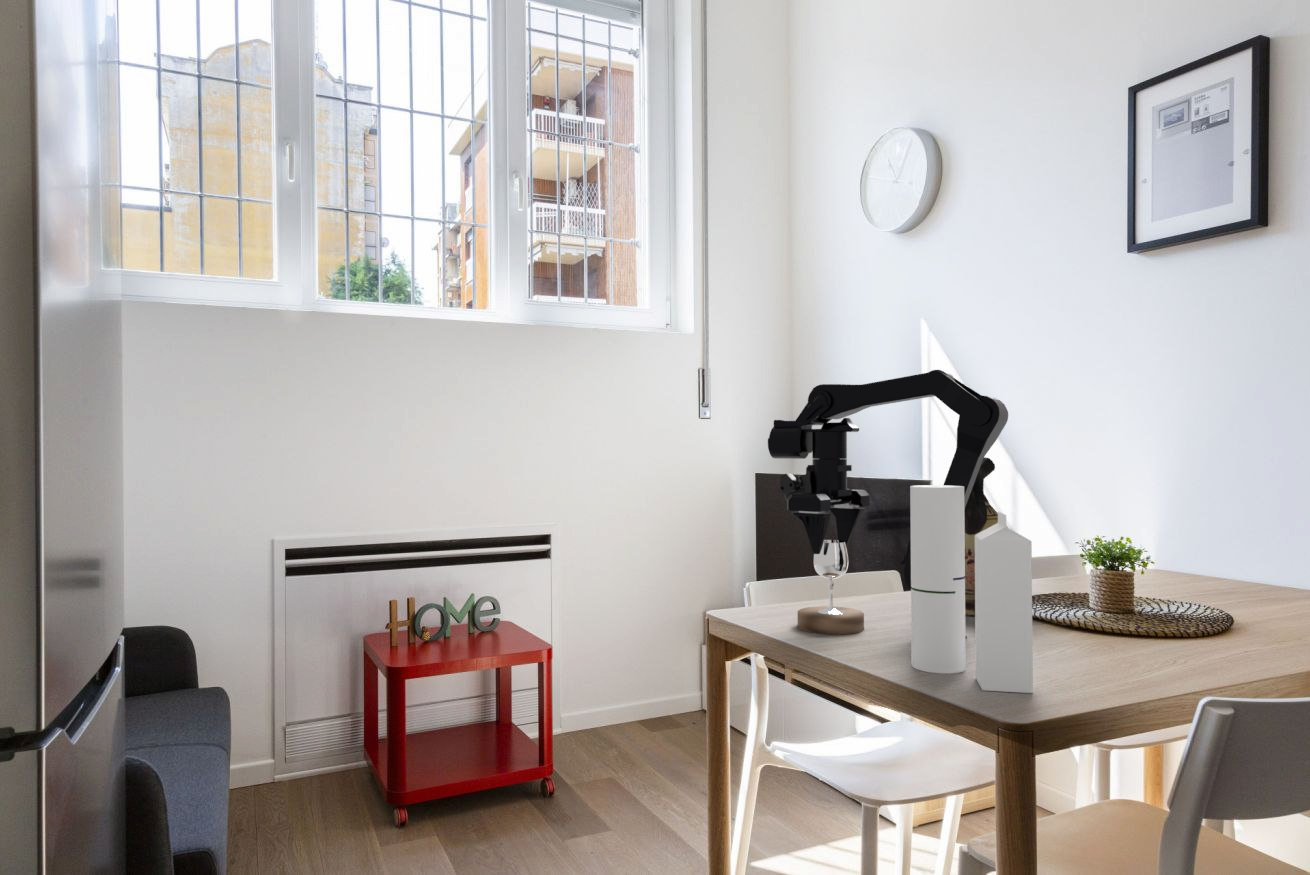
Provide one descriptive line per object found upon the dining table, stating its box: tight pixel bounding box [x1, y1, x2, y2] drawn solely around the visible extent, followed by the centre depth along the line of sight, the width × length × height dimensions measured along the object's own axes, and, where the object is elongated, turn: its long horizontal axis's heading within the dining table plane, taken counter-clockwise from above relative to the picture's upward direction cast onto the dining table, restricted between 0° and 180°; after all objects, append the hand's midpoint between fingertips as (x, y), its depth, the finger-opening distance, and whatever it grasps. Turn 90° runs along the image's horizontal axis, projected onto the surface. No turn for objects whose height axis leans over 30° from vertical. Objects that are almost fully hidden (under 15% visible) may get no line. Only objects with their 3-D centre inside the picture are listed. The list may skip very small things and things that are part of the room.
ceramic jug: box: [964, 456, 1008, 616], centre depth 157 cm, size 17×15×30 cm
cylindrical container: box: [909, 484, 967, 675], centre depth 119 cm, size 7×7×25 cm
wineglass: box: [813, 539, 849, 615], centre depth 145 cm, size 6×6×12 cm
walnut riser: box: [797, 605, 865, 635], centre depth 144 cm, size 11×11×2 cm
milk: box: [974, 511, 1034, 694], centre depth 109 cm, size 6×6×22 cm
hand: (829, 551), depth 145 cm, fingers open, 9 cm apart
